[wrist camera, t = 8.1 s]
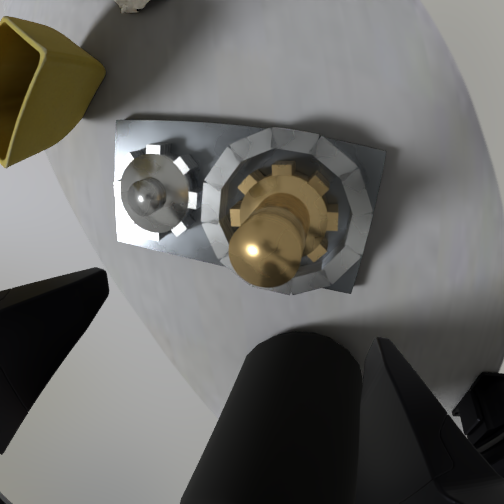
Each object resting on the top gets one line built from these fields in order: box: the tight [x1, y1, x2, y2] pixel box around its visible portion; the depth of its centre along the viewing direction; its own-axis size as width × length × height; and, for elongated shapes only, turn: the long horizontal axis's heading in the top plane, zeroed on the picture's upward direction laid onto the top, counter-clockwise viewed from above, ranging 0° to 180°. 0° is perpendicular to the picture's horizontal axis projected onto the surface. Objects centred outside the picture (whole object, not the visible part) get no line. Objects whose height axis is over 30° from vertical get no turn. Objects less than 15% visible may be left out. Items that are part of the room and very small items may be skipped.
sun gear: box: [114, 143, 203, 241], centre depth 20 cm, size 7×7×3 cm
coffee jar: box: [180, 332, 362, 504], centre depth 18 cm, size 11×11×18 cm
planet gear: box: [228, 161, 338, 288], centre depth 16 cm, size 6×6×7 cm
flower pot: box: [0, 16, 106, 168], centre depth 16 cm, size 9×9×9 cm
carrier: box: [115, 120, 386, 295], centre depth 20 cm, size 19×10×2 cm, turn 84°
